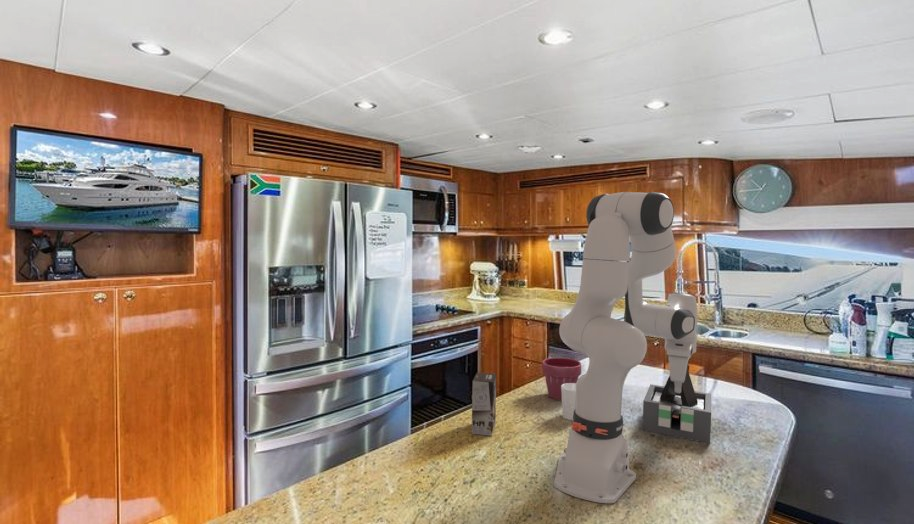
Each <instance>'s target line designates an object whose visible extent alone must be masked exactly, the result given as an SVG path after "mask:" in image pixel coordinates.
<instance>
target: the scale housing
mask: <svg viewBox="0 0 914 524" xmlns="http://www.w3.org/2000/svg"><path fill="white" fill-rule="evenodd" d="M664 387H665V385H658V384H651V383H650V385H649V387H648V389H647V391H646V394H645V396H644V399H643V401H642V402H643V406H642V431H646V430H647V432H651V431H652V433H657V434H661V435H665V436H667V435H668V436H671V435H672V437H676V436H677V437H676V438H681V437H683V438H682V439H685V438H687V439H686V440H690V439H692V441H695V440H698V441H697V442H700V441H701V442H702V443H705V442H706V443H707V444H711V429H712V428H711V427H712V425H711V424H712V393H708V392H702V391H695V390H694V391H695V395H696V398H702V399H704V409H698V408H692V407H686V406H681V414H679V418H674V417H673V412H672V404H669V403H663V402H657V401H653V398H654V395H655V393H656V391H658V392H663V389H664ZM676 394H677V395H680V393H676ZM701 442H700V443H701Z"/></svg>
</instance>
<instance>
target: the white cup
mask: <svg viewBox="0 0 914 524" xmlns="http://www.w3.org/2000/svg"><path fill="white" fill-rule="evenodd" d="M561 395H562V400H561V409H562V410H561V411H562V412H561V413H562V418H564V419H565V420H568V421H570V422H571V421H572V418H573V413H574V410H575V399H576V383H565V384H562V385H561ZM572 422H573V421H572Z"/></svg>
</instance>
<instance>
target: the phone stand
mask: <svg viewBox="0 0 914 524" xmlns="http://www.w3.org/2000/svg"><path fill="white" fill-rule="evenodd" d="M664 386H665V387H664V389H663V392H662V394H661V396H660V400H663V401H666V402H669V403H674V404H676V405H679V406H686V407H691V406H693V405H695V404H698V401H697V398H696V395H695V389H694V385H693V382H692V378H691V375H690V364H687V370H686V376H685V380H684V383H682V387H681V393H680V396H681V398H680V397H676V396H675V394H676V392H675V385H674V382H673V381H671V379H670V375H669V376H668V378H667V381H666V382H665V385H664Z"/></svg>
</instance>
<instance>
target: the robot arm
mask: <svg viewBox="0 0 914 524" xmlns="http://www.w3.org/2000/svg"><path fill="white" fill-rule="evenodd" d="M585 213H586V214H585V216H586V222H587V226H588V228H587V232H586V236H585V241H584V246H583V253H582V267H581V275H580V285H579V290H578V294H577V297H576V299H575V301H574V302H575V303H574V305H573V306H572V309H570V311H569V313H568V314H566V315H565V316H564V317H563V318H562V320H561V321H560V324H559V328H558V329H559V330H558V333H559V337H560V339H561V341H562V343H564V344H565V345H566V346H567V347H568V348H570V349H571V350H572V351H573V352H576V353H578V354H581V355H582V356H586V357H588V360H589V361H588V367H587V370H586V372H585V374H583V375H582V374H581V375H580V377H578V380H577V382H576V399H575V410H574V413H573V418H572V423H571V427H570V428H569V429H568V439H567V443H566V447H564V449H563V452H564V453H563V454H560V455H559V459H558V464H557V468H556V474H555V476H554V477H555V478H554V481H553V482H554V483H553V486H554V487H555V488H556V489H557V490H559V491H560V492H563V493H565V494H567V495H569V496H572V497H575V498H577V499H581V500H586V501H590V502H594V503H600V504H615V503H616V502H617V501H618V500H619V499H620V497H622V495H623V494H624V493H625V492H626V491H627V490H628V488H629V487H630V486H631V485H632V484H633V483H634V482H635V481H636V479H637V473H636V471H634V470H633V469H631V468H630V447H629V443H630V442H629V441H628V440H627V438H626V437H625V436H624V434H623V432H624V431H623V430H624V417H623V415H622V403H623V389H624V385H625V381H626V379H627V376H628V374H629V373H630V372H631V370H633V368H635V367H637V366H639V365H640V363H642V361H643V360H644V359H645V357H646V354H647V352H648V351H647V350H648V342H647V338H646V336H649V337H656V338H662V339H664V350H665V351H666V355H667V356H668V367H669V368H668V369H669V376H670V379H671V381H673V382H674V385H675V392H676V393H681V387H682V383H684V380H685V376H686V370H687V364H688V363H689V360H690V358H691V357H692V355H693V354H695V353H696V352H697V339H698V338H697V337H698V334H697V330H696V329H697V325H698V304H697V300H696V299H697V298H696V296H694V295H693V294H689V293H683V292H671V293H668V296H667V300H666V304H665V305H664V304H663V305H662V304H654V303H653V304H652V303H648V302H646V301H645V300H644V298H643V280H644V279H646V278H649V277H652V276H657V275H659V274H661V273H663V272H665V271H667V269H669V268H670V267H671V266H672V265H673V263H674V262H675V259H676V253H677V251H676V250H677V249H676V242H675V238H674V233H673V229H672V224H673V220H674V217H675V209H674V204H673V201H672V200H671V199H670V197H668V195H666V194H665V193H662V192H657V191H656V192H655V191H650V192H641V191H639V192H636V191H635V192H630V191H622V192H621V191H620V192H614V193H604V194H599V195H596V196H594V197H593V198H591V200H590V201H589V203H588V205H587V206H586V212H585ZM622 298H624V314H623V315H624V316H623V320H620V319H618V318H617V319H616V318H614V317H611V316H612V313H613V310H614V307H615V305H616V303H617V302H618V301H620V300H621V299H622ZM688 365H689V364H688Z"/></svg>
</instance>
